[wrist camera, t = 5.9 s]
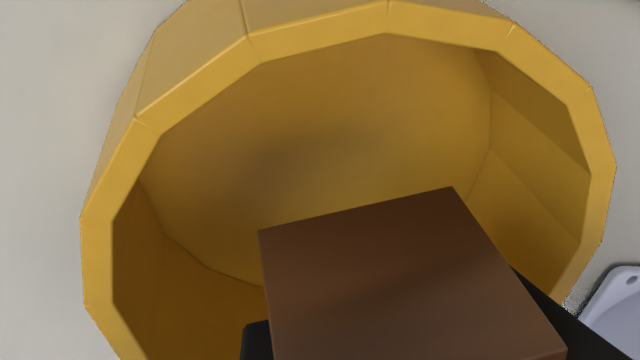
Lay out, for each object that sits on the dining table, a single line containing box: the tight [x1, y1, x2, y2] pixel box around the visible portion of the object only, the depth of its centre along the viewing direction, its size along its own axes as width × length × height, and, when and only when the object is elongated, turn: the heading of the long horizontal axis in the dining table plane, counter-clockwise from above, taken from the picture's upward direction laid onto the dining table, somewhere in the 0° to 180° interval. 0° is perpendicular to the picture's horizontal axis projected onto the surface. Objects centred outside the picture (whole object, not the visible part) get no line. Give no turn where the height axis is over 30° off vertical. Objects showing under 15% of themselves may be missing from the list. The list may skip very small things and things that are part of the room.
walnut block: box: [257, 186, 568, 360], centre depth 10 cm, size 4×4×4 cm
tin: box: [80, 0, 617, 360], centre depth 14 cm, size 12×12×5 cm
